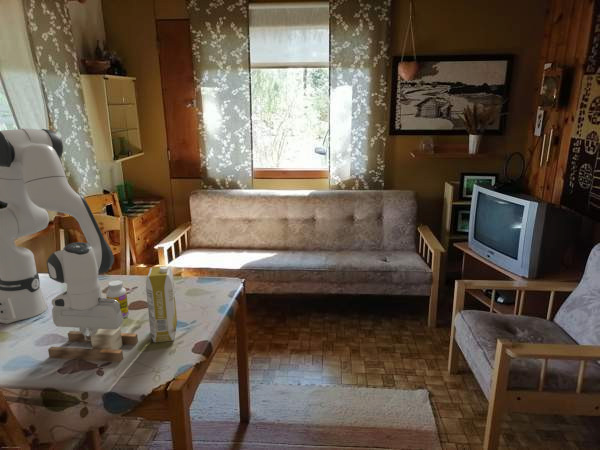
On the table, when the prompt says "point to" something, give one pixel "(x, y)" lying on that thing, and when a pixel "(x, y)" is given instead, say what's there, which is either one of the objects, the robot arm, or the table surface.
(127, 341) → the chute
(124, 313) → the supplement bottle
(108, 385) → the table surface
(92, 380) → the table surface
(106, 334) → the block
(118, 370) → the table surface
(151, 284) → the juice carton
